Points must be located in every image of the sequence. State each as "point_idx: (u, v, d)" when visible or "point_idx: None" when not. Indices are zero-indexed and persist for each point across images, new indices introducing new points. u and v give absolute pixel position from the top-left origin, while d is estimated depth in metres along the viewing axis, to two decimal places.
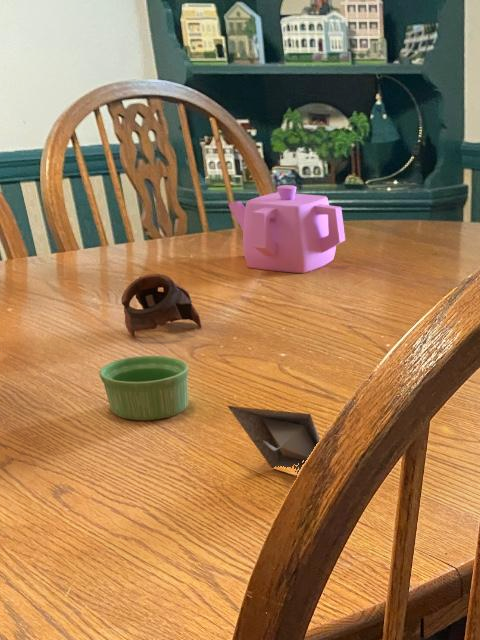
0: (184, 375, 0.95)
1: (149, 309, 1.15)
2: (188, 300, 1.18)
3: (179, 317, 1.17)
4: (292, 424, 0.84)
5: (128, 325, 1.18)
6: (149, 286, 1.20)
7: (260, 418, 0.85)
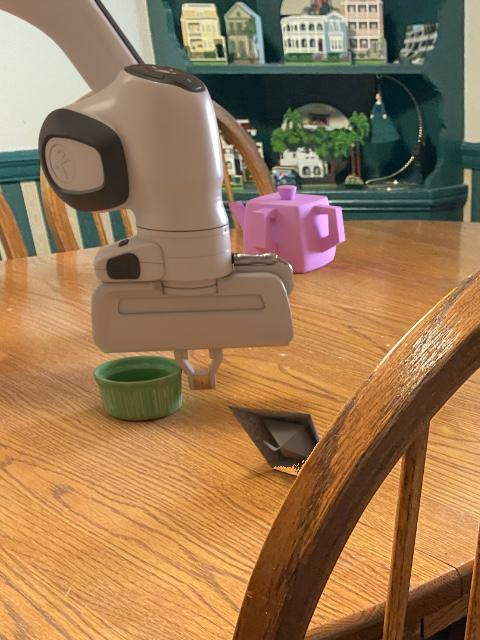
0: (177, 374, 0.95)
1: None
2: None
3: None
4: (292, 424, 0.84)
5: None
6: None
7: (260, 418, 0.85)
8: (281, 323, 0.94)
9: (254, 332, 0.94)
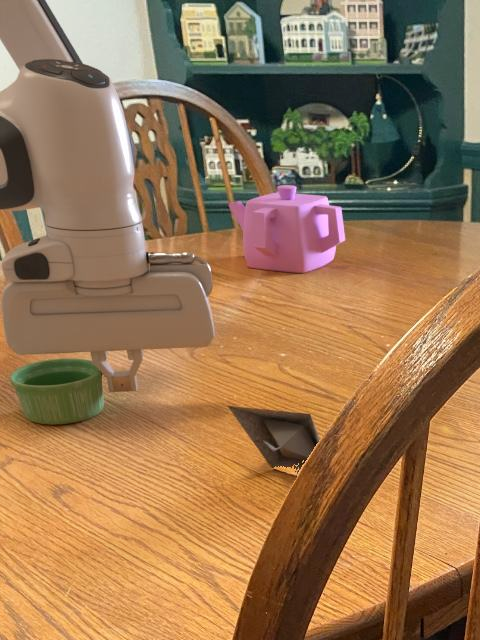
0: (96, 377, 0.93)
1: None
2: None
3: None
4: (292, 424, 0.84)
5: None
6: None
7: (260, 418, 0.85)
8: (200, 324, 0.92)
9: (172, 332, 0.92)
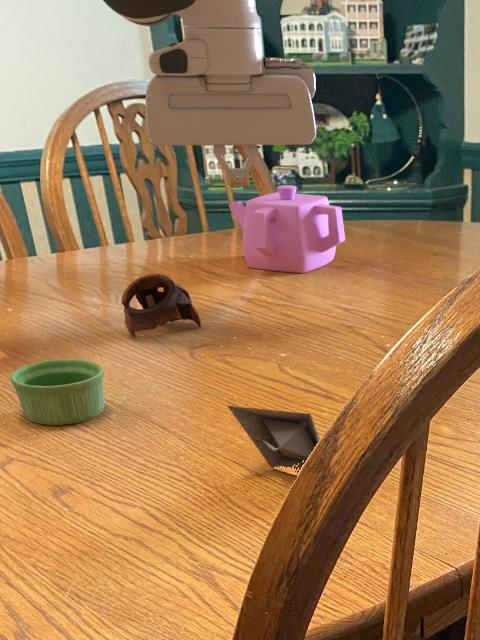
0: (97, 379, 0.93)
1: (149, 309, 1.15)
2: (188, 300, 1.18)
3: (179, 317, 1.17)
4: (292, 424, 0.84)
5: (128, 325, 1.18)
6: (149, 286, 1.20)
7: (260, 418, 0.85)
8: (305, 122, 1.11)
9: (282, 129, 1.10)
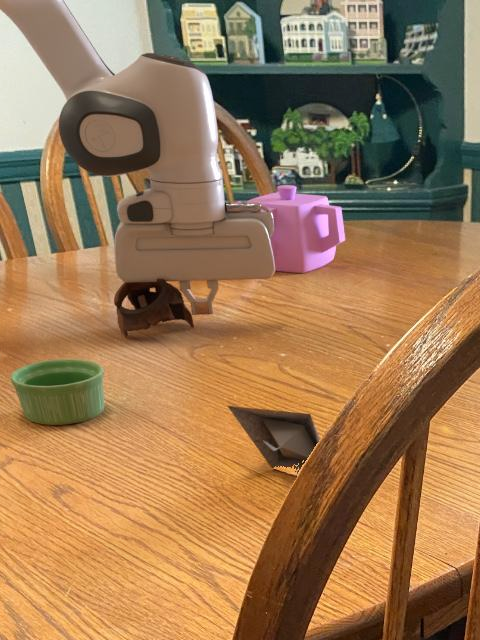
0: (97, 379, 0.93)
1: (142, 309, 1.15)
2: (181, 300, 1.18)
3: (172, 317, 1.17)
4: (292, 424, 0.84)
5: (121, 326, 1.17)
6: (141, 286, 1.20)
7: (260, 418, 0.85)
8: (265, 260, 1.19)
9: (242, 266, 1.18)
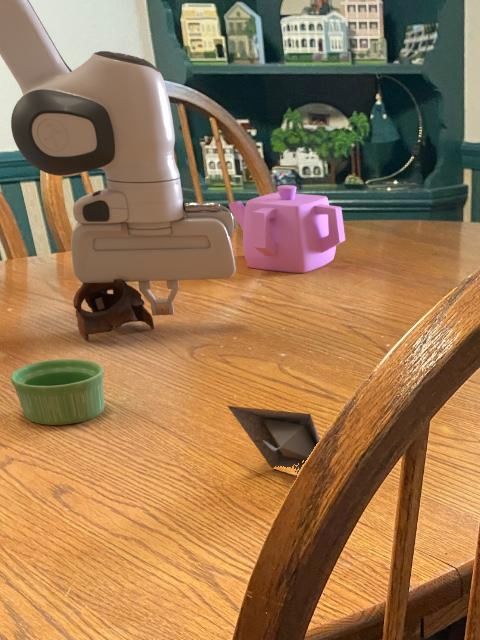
0: (97, 379, 0.93)
1: (105, 312, 1.13)
2: (142, 301, 1.17)
3: (135, 319, 1.16)
4: (292, 424, 0.84)
5: (82, 329, 1.16)
6: (99, 288, 1.18)
7: (260, 418, 0.85)
8: (225, 260, 1.18)
9: (202, 266, 1.17)
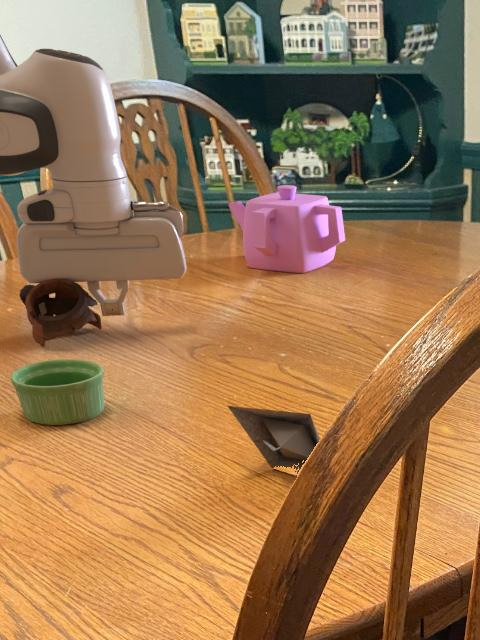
0: (97, 379, 0.93)
1: (67, 314, 1.12)
2: (95, 301, 1.16)
3: (95, 319, 1.15)
4: (292, 424, 0.84)
5: (39, 335, 1.13)
6: (44, 292, 1.15)
7: (260, 418, 0.85)
8: (174, 259, 1.16)
9: (152, 266, 1.16)
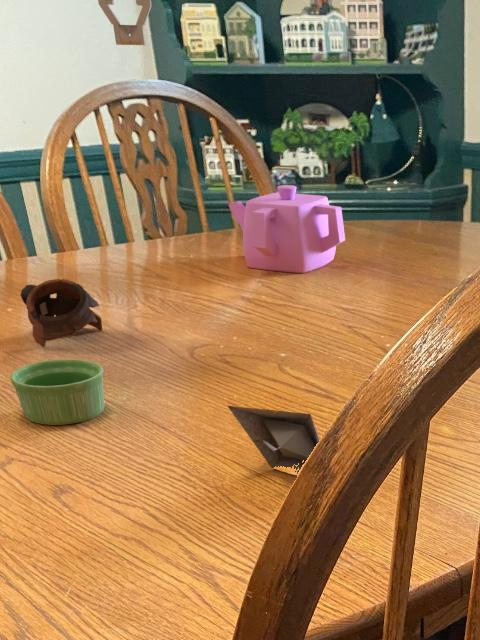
0: (97, 379, 0.93)
1: (67, 315, 1.12)
2: (97, 302, 1.16)
3: (95, 320, 1.15)
4: (292, 424, 0.84)
5: (39, 335, 1.13)
6: (45, 293, 1.16)
7: (260, 418, 0.85)
8: None
9: None
